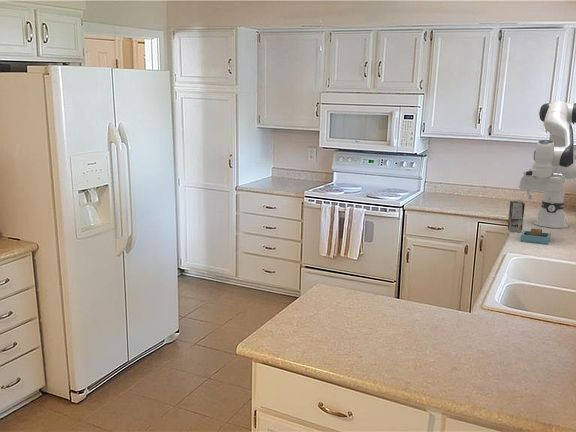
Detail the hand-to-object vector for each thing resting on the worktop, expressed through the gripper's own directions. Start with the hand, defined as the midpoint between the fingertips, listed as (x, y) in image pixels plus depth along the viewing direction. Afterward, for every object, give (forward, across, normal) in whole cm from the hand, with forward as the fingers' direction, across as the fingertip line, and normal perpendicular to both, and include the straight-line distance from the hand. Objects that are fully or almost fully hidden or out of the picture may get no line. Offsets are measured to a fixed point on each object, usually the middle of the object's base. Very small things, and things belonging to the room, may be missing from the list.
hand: (539, 199), depth 288 cm
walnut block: (+20, 0, +1) cm, 20 cm away
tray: (+21, 0, +1) cm, 21 cm away
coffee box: (+22, +13, -21) cm, 33 cm away
